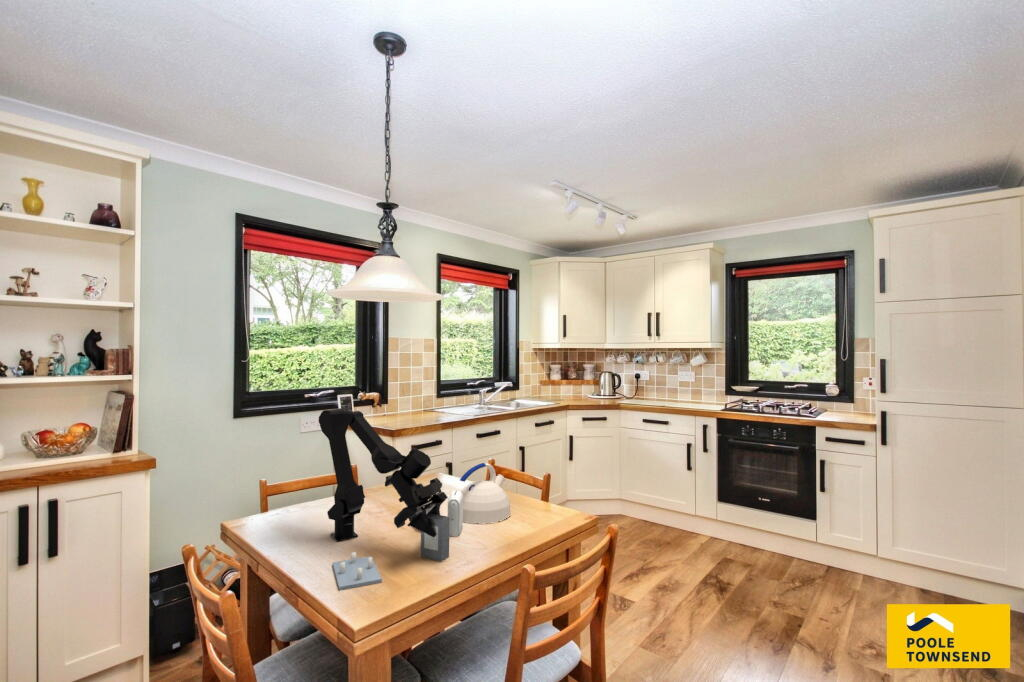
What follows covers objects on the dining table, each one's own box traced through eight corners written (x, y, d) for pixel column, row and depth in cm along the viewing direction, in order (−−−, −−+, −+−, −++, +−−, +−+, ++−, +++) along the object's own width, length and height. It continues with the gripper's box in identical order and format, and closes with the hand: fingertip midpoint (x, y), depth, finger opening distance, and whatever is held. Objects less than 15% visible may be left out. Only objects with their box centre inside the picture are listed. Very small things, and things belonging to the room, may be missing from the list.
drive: (420, 557, 134) (420, 517, 135) (428, 552, 138) (428, 513, 138) (441, 561, 131) (442, 521, 132) (449, 556, 135) (449, 516, 135)
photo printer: (460, 536, 150) (460, 496, 150) (446, 536, 150) (446, 496, 150) (463, 525, 160) (464, 487, 160) (450, 525, 160) (451, 487, 160)
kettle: (523, 514, 172) (523, 463, 172) (480, 529, 157) (481, 473, 157) (484, 502, 185) (484, 454, 186) (441, 514, 170) (441, 463, 171)
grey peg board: (332, 565, 129) (332, 552, 129) (371, 558, 133) (371, 546, 133) (339, 590, 115) (339, 576, 115) (381, 582, 120) (382, 568, 120)
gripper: (403, 478, 129) (437, 527, 124) (442, 464, 145) (474, 506, 140) (379, 504, 132) (412, 552, 127) (420, 487, 149) (450, 529, 144)
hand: (439, 533), depth 134 cm, fingers closed on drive, 4 cm apart
